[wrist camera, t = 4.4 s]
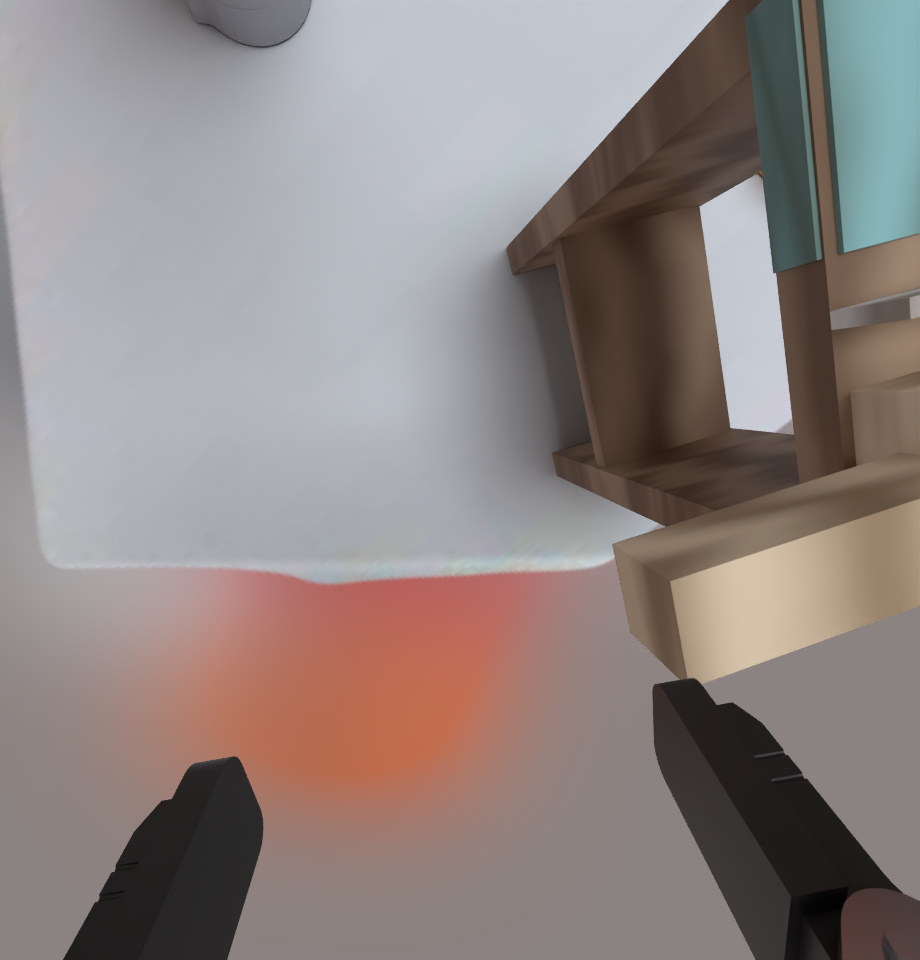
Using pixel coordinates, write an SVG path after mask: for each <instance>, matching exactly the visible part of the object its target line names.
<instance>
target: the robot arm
mask: <svg viewBox="0 0 920 960" xmlns="http://www.w3.org/2000/svg"><path fill="white" fill-rule="evenodd" d="M185 1H186V3H187V5H188V7H189V9H190V11H191V14H192V16H193V18H194V20H195V21H196V22H197V23H206V24H210V25H212V26H214V27H215V28H217V29H218V30H219V31H221V32H222V33H223V34H225V35H226V36H227V37H230V38H232V39H234V40H236V41H238V42H240V43H244V44H247V45H251V46H269V45H274V44H278V43H280V42H282V41H284V40H286V39H288V38H290V37H291V36H292V35H293V34H294V33H295V32H297V31H298V29H299V28H300V27H301V25H302V24H303V22H304V21H305V19H306V16H307V14H308V11H309V9H310V4H311V0H185ZM653 723H654V745H655V752H656V756H657V760H658V763H659V766H660V769H661V772H662V774H663V777H664V779H665V781H666V783H667V785H668V787H669V789H670V791H671V793H672V795H673V797H674V799H675V801H676V803H677V805H678V807H679V809H680V811H681V813H682V815H683V817H684V819H685V821H686V823H687V825H688V827H689V828H690V831H691V833H692V835H693V837H694V839H695V841H696V843H697V845H698V847H699V849H700V850H701V853H702V854H703V856H704V858H705V860H706V862H707V864H708V866H709V868H710V870H711V872H712V874H713V876H714V878H715V880H716V882H717V884H718V886H719V888H720V890H721V892H722V894H723V896H724V898H725V900H726V902H727V904H728V906H729V908H730V910H731V912H732V914H733V915H734V918H735V919H736V922H737V924H738V926H739V928H740V930H741V932H742V934H743V935H744V937H745V940H746V941H747V943H748V945H749V947H750V949H751V951H752V953H753V955H754V957H755V959H756V960H920V901H919V900H917V899H914V898H912V897H910V896H908V895H905V894H903V893H902V892H901V891H900V890H899V889H898V888H897V887H896V886H895V885H894V884H893V883H892V882H891V881H890V880H889V879H888V878H887V877H886V876H885V875H884V873H883V872H882V871H881V870H880V868H879V867H878V866H877V865H876V864H875V862H874V861H873V860H872V859H871V857H870V856H869V855H868V854H867V852H866V851H865V850H864V849H863V847H862V846H861V845H860V844H859V842H858V841H857V840H856V839H855V838H854V836H853V835H852V834H851V833H850V831H849V830H848V829H847V828H846V826H845V825H844V824H843V823H842V821H841V820H840V819H839V818H838V817H837V815H836V814H835V813H834V812H833V810H832V809H831V808H830V807H829V805H828V804H827V803H826V802H825V800H824V799H823V798H822V797H821V795H820V794H819V793H818V792H817V791H816V789H815V788H814V787H813V786H812V784H811V783H810V782H809V781H808V779H804V777H803V775H802V772H801V771H800V769H799V768H798V767H797V766H796V765H795V763H794V762H793V761H792V760H791V758H790V757H789V756H788V755H785V754H784V751H783V748H782V747H781V746H780V745H779V743H778V742H777V741H776V740H775V739H774V737H773V736H772V735H771V734H770V732H769V731H768V730H767V729H766V727H765V726H764V725H763V724H762V723H761V722H760V721H758V720H757V719H756V718H754V717H753V716H751V715H750V714H748V713H747V712H745V711H744V710H743V709H741V708H740V707H739V706H737V705H736V704H734V703H726V704H721V705H716V704H715V702H714V701H713V699H712V698H711V697H710V696H709V694H708V693H707V691H706V690H705V689H704V687H703V686H702V685H701V683H700V682H699V681H698V680H697V679H695V678H688V679H682V680H677V681H671V682H665V683H660V684H655V685H654V686H653ZM262 838H263V817H262V813H261V809H260V807H259V804H258V802H257V799H256V797H255V795H254V792H253V790H252V787H251V785H250V782H249V780H248V778H247V775H246V773H245V770H244V768H243V766H242V763H241V762H240V760H239V759H238V758H237V757H228V758H222V759H217V760H211V761H206V762H199V763H195V764H193V765H191V766H190V767H189V768H188V770H187V771H186V773H185V774H184V776H183V778H182V780H181V782H180V784H179V786H178V788H177V790H176V792H175V794H174V796H173V798H172V799H170V800H164V801H161V802H160V803H159V804H158V805H157V807H156V808H155V809H154V810H153V811H152V812H151V813H150V814H149V816H148V817H147V818H146V819H145V820H144V821H143V822H142V824H141V825H140V826H139V827H138V828H137V829H136V830H135V831H134V833H133V835H132V837H131V839H130V840H129V842H128V844H127V846H126V848H125V849H124V851H123V853H122V855H121V856H120V858H119V860H118V862H117V864H116V869H115V872H112V873H111V874H110V876H109V878H108V880H107V882H106V883H105V885H104V887H103V889H102V891H101V892H100V894H99V896H100V898H99V901H98V902H95V903H94V905H93V907H92V909H91V911H90V912H89V914H88V916H87V918H86V919H85V921H84V923H83V925H82V927H81V928H80V930H79V932H78V934H77V936H76V938H75V939H74V941H73V943H72V945H71V947H70V948H69V950H68V952H67V954H66V955H65V957H64V959H63V960H227V958H228V955H229V952H230V948H231V945H232V942H233V939H234V935H235V931H236V929H237V925H238V922H239V919H240V915H241V912H242V909H243V906H244V902H245V899H246V895H247V892H248V889H249V886H250V883H251V879H252V876H253V873H254V869H255V866H256V862H257V860H258V856H259V853H260V849H261V845H262Z"/></svg>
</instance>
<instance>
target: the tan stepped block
mask: <svg viewBox="0 0 920 960" xmlns="http://www.w3.org/2000/svg"><path fill="white" fill-rule="evenodd" d="M850 396H851V408H852V419H853V431H854V443H855V455H856V467H853V468H849V469H846V470H843V471H840V472H837V473H834V474H831V475H827V476H824V477H821V478H818V479H815V480H812V481H809V482H805V483H802V484H799V485H796V486H793V487H790V488H787V489H783V490H780V491H777V492H774V493H771V494H768V495H765V496H761V497H758V498H755V499H752V500H749V501H746V502H743V503H739V504H736V505H733V506H730V507H727V508H724V509H720V510H717V511H714V512H711V513H708V514H705V515H702V516H698V517H695V518H692V519H689V520H686V521H683V522H680V523H676V524H673V525H670V526H667V527H664V528H661V529H658V530H654V531H651V532H648V533H645V534H642V535H639V536H636V537H632V538H629V539H626V540H623V541H620V542H617V543H614V544H612V545H613V550H614V555H615V560H616V565H617V570H618V574H619V580H620V585H621V590H622V594H623V599H624V604H625V609H626V614H627V619H628V624H629V629H630V633H631V634H633V635H634V636H635V637H636V638H637V639H638V640H639V641H640V642H641V643H642V644H643V645H644V646H645V647H646V648H647V649H648V650H649V651H650V652H651V653H653V654H654V655H655V656H656V657H657V658H658V659H659V660H660V661H661V662H662V663H663V664H664V665H665V666H666V667H667V668H668V669H669V670H670V671H671V672H673V673H674V674H675V675H676V676H677V677H678V678H679V679H680V680H682V679H688V678H695V679H697V680H698V681H699V682H700V683H701V684H703V683H705V682H709V681H711V680H714V679H717V678H720V677H723V676H725V675H728V674H731V673H734V672H736V671H739V670H742V669H745V668H747V667H750V666H753V665H756V664H759V663H761V662H764V661H767V660H770V659H773V658H775V657H778V656H781V655H784V654H787V653H789V652H792V651H795V650H798V649H800V648H803V647H806V646H809V645H812V644H814V643H817V642H820V641H822V640H825V639H828V638H831V637H834V636H837V635H839V634H842V633H845V632H847V631H850V630H853V629H856V628H859V627H862V626H864V625H867V624H870V623H873V622H875V621H878V620H881V619H884V618H887V617H889V616H892V615H895V614H898V613H901V612H903V611H906V610H909V609H911V608H914V607H917V606H920V371H918V372H914V373H911V374H908V375H904V376H901V377H897V378H894V379H891V380H887V381H884V382H881V383H877V384H874V385H871V386H867V387H864V388H861V389H857V390H854V391H851V392H850Z"/></svg>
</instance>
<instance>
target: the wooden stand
mask: <svg viewBox="0 0 920 960" xmlns="http://www.w3.org/2000/svg"><path fill="white" fill-rule="evenodd" d="M760 171H762V177H763V186H764V194H765V203H766V212H767V221H768V230H769V239H770V248H771V256H772V265H773V273H776V276H777V285H778V294H779V303H780V312H781V321H782V330H783V339H784V348H785V357H786V365H787V374H788V383H789V392H790V401H791V410H792V419H793V428H794V435H791V434H781V433H772V432H762V431H753V430H743V429H733V428H730V423H729V416H728V409H727V402H726V394H725V387H724V380H723V373H722V366H721V359H720V351H719V344H718V337H717V330H716V323H715V316H714V309H713V301H712V294H711V287H710V280H709V273H708V266H707V258H706V251H705V244H704V237H703V230H702V223H701V215H700V208H699V206H701V205H703V204H705V203H706V202H708V201H710V200H712V199H713V198H715V197H717V196H719V195H720V194H722V193H724V192H726V191H727V190H729V189H731V188H733V187H734V186H736V185H738V184H740V183H741V182H743V181H745V180H747V179H748V178H750V177H752V176H753V175H755V174H757V173H759V172H760ZM507 251H508V256H509V261H510V265H511V270H512V274H518V273H522V272H526V271H530V270H534V269H538V268H542V267H546V266H550V265H554V264H556V267H557V272H558V277H559V282H560V287H561V292H562V297H563V301H564V306H565V311H566V316H567V321H568V326H569V331H570V336H571V341H572V346H573V351H574V356H575V361H576V366H577V371H578V376H579V381H580V386H581V391H582V395H583V400H584V405H585V410H586V415H587V420H588V425H589V430H590V435H591V440H592V441H591V442H588V443H584V444H581V445H578V446H574V447H571V448H567V449H564V450H560V451H557V452H554V453H552V455H553V460H554V464H555V469H556V473H557V476H559V477H561V478H563V479H565V480H567V481H569V482H572V483H574V484H576V485H578V486H580V487H582V488H584V489H587V490H589V491H591V492H593V493H595V494H597V495H599V496H601V497H604V498H606V499H608V500H610V501H612V502H614V503H616V504H619V505H621V506H623V507H625V508H627V509H629V510H631V511H634V512H636V513H638V514H640V515H642V516H644V517H646V518H649V519H651V520H653V521H655V522H657V523H659V524H661V525H664V526H666V527H667V526H670V525H673V524H676V523H680V522H683V521H686V520H689V519H692V518H695V517H698V516H702V515H705V514H708V513H711V512H714V511H717V510H720V509H724V508H727V507H730V506H733V505H736V504H739V503H743V502H746V501H749V500H752V499H755V498H758V497H761V496H765V495H768V494H771V493H774V492H777V491H780V490H783V489H787V488H790V487H793V486H796V485H799V484H802V483H805V482H809V481H812V480H815V479H818V478H821V477H824V476H827V475H831V474H834V473H837V472H840V471H843V470H846V469H849V468H853V467H856V455H855V443H854V431H853V419H852V408H851V396H850V392H851V391H854V390H857V389H861V388H864V387H867V386H871V385H874V384H877V383H881V382H884V381H887V380H891V379H894V378H897V377H901V376H904V375H908V374H911V373H914V372H918V371H920V0H729V1H728V2H727V3H726V4H725V6H724V7H723V8H722V9H721V10H720V11H719V12H718V13H717V14H716V16H715V17H714V18H713V19H712V20H711V21H710V22H709V23H708V24H707V26H706V27H705V28H704V29H703V30H702V31H701V32H700V33H699V34H698V36H697V37H696V38H695V39H694V40H693V41H692V42H691V43H690V44H689V46H688V47H687V48H686V49H685V50H684V51H683V52H682V53H681V54H680V56H679V57H678V58H677V59H676V60H675V61H674V62H673V63H672V64H671V66H670V67H669V68H668V69H667V70H666V71H665V72H664V73H663V74H662V76H661V77H660V78H659V79H658V80H657V81H656V82H655V83H654V84H653V86H652V87H651V88H650V89H649V90H648V91H647V92H646V93H645V94H644V96H643V97H642V98H641V99H640V100H639V101H638V102H637V103H636V104H635V106H634V107H633V108H632V109H631V110H630V111H629V112H628V113H627V114H626V116H625V117H624V118H623V119H622V120H621V121H620V122H619V123H618V124H617V126H616V127H615V128H614V129H613V130H612V131H611V132H610V133H609V134H608V136H607V137H606V138H605V139H604V140H603V141H602V142H601V143H600V144H599V146H598V147H597V148H596V149H595V150H594V151H593V152H592V153H591V154H590V156H589V157H588V158H587V159H586V160H585V161H584V162H583V163H582V164H581V166H580V167H579V168H578V169H577V170H576V171H575V172H574V173H573V174H572V175H571V177H570V178H569V179H568V180H567V181H566V182H565V183H564V184H563V185H562V187H561V188H560V189H559V190H558V191H557V192H556V193H555V194H554V195H553V197H552V198H551V199H550V200H549V201H548V202H547V203H546V204H545V205H544V207H543V208H542V209H541V210H540V211H539V212H538V213H537V214H536V215H535V217H534V218H533V219H532V220H531V221H530V222H529V223H528V224H527V225H526V227H525V228H524V229H523V230H522V231H521V232H520V233H519V234H518V235H517V237H516V238H515V239H514V240H513V241H512V242H511V243H510V244H509V245H508V247H507Z"/></svg>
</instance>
